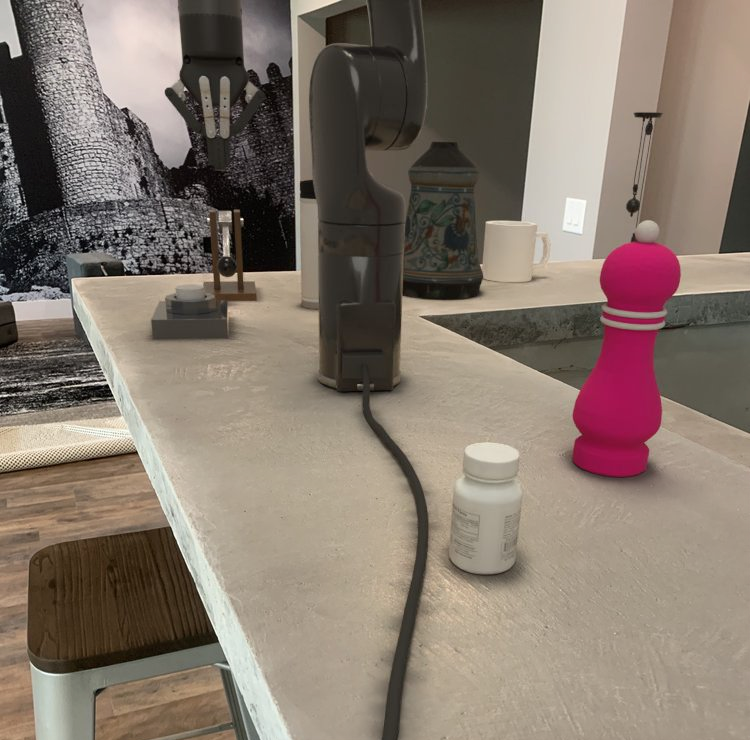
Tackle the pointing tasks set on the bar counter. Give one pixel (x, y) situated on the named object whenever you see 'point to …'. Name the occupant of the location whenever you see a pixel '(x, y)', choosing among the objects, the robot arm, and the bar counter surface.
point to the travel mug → (309, 245)
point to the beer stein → (441, 226)
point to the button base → (190, 318)
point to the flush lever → (226, 245)
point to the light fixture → (633, 203)
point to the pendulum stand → (237, 288)
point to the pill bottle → (486, 510)
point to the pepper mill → (626, 359)
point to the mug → (512, 251)
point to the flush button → (190, 292)
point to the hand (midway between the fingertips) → (220, 170)
